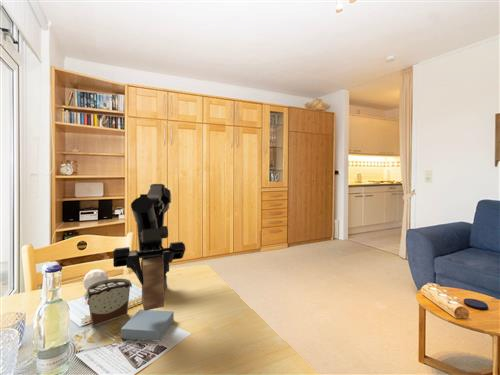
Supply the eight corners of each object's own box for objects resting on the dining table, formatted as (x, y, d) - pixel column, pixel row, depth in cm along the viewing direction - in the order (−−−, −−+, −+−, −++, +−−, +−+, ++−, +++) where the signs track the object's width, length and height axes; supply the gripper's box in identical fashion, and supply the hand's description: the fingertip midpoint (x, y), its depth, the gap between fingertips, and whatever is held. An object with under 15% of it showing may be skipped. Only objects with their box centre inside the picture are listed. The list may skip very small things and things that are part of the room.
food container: (124, 305, 88) (124, 274, 88) (132, 312, 84) (132, 280, 83) (80, 319, 80) (79, 285, 79) (86, 328, 75) (85, 292, 75)
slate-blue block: (121, 340, 71) (121, 328, 71) (140, 319, 81) (140, 309, 81) (159, 342, 70) (159, 331, 70) (173, 321, 80) (173, 311, 80)
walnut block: (144, 310, 72) (143, 265, 71) (142, 302, 76) (141, 259, 75) (164, 306, 74) (163, 262, 73) (161, 298, 79) (160, 257, 78)
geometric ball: (92, 301, 97) (76, 288, 92) (93, 285, 103) (79, 272, 99) (112, 289, 98) (98, 275, 94) (112, 274, 105) (99, 260, 100)
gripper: (112, 218, 73) (113, 274, 64) (183, 214, 81) (193, 263, 72) (113, 241, 81) (114, 293, 71) (178, 235, 89) (186, 281, 80)
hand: (153, 282), depth 74 cm, fingers closed on walnut block, 5 cm apart
